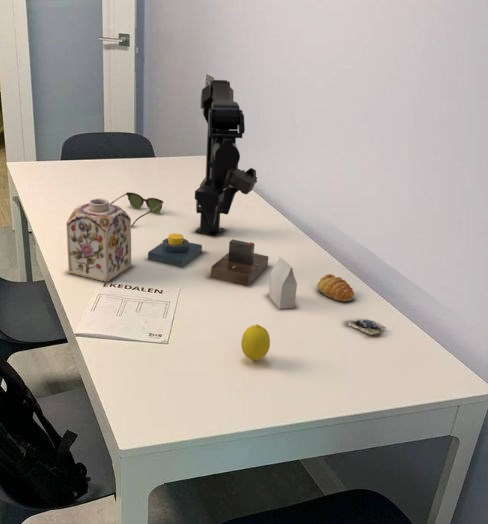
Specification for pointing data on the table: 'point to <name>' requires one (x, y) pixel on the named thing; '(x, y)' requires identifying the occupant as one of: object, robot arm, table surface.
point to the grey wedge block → (283, 285)
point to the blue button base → (175, 253)
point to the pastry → (335, 288)
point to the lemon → (255, 342)
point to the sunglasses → (138, 201)
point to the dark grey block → (241, 251)
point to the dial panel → (239, 270)
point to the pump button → (175, 239)
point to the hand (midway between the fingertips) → (219, 219)
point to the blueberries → (367, 326)
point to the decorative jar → (99, 240)
